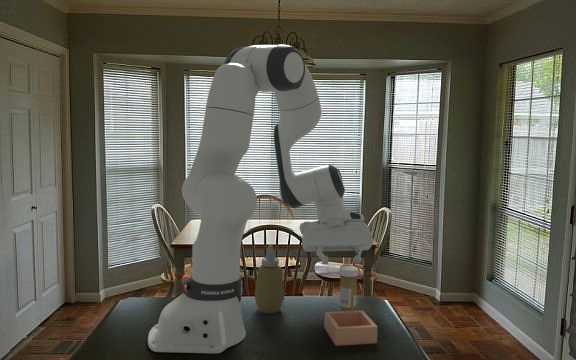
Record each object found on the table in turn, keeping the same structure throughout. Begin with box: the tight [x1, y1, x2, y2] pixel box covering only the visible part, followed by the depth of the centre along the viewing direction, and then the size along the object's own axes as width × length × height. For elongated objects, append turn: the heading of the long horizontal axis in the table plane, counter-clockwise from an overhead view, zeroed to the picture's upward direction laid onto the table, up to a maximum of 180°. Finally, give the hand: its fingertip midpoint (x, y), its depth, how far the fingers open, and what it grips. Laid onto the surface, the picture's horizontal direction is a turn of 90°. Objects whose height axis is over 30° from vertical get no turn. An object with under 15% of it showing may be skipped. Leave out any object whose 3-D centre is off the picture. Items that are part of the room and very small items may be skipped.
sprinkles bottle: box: [339, 265, 359, 312], centre depth 124 cm, size 5×5×13 cm
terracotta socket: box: [323, 309, 378, 347], centre depth 113 cm, size 10×10×4 cm
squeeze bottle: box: [254, 244, 285, 315], centre depth 126 cm, size 8×8×18 cm
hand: (342, 262), depth 129 cm, fingers open, 8 cm apart
